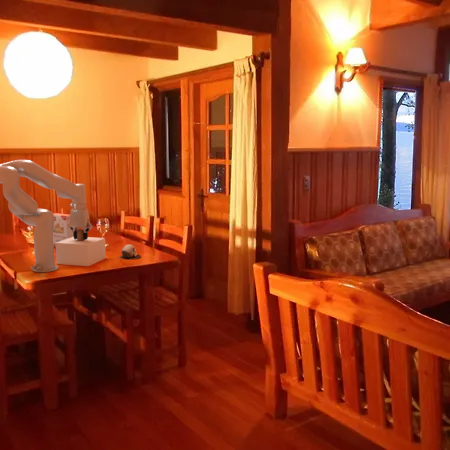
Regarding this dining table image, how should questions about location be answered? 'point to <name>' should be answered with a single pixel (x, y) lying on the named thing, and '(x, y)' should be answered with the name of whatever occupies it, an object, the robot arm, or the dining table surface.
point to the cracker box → (61, 228)
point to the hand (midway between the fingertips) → (80, 238)
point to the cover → (80, 250)
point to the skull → (129, 253)
